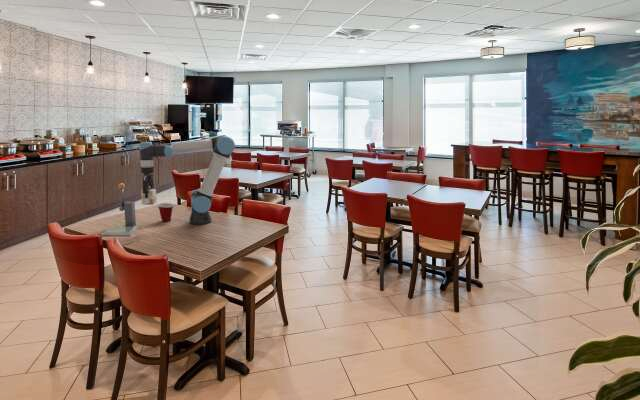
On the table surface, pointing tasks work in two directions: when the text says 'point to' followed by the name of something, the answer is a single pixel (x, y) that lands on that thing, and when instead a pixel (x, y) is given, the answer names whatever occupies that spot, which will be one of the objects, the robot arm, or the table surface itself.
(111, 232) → the press
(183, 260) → the table surface
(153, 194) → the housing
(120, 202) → the press lever
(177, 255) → the table surface
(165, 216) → the plastic cup
